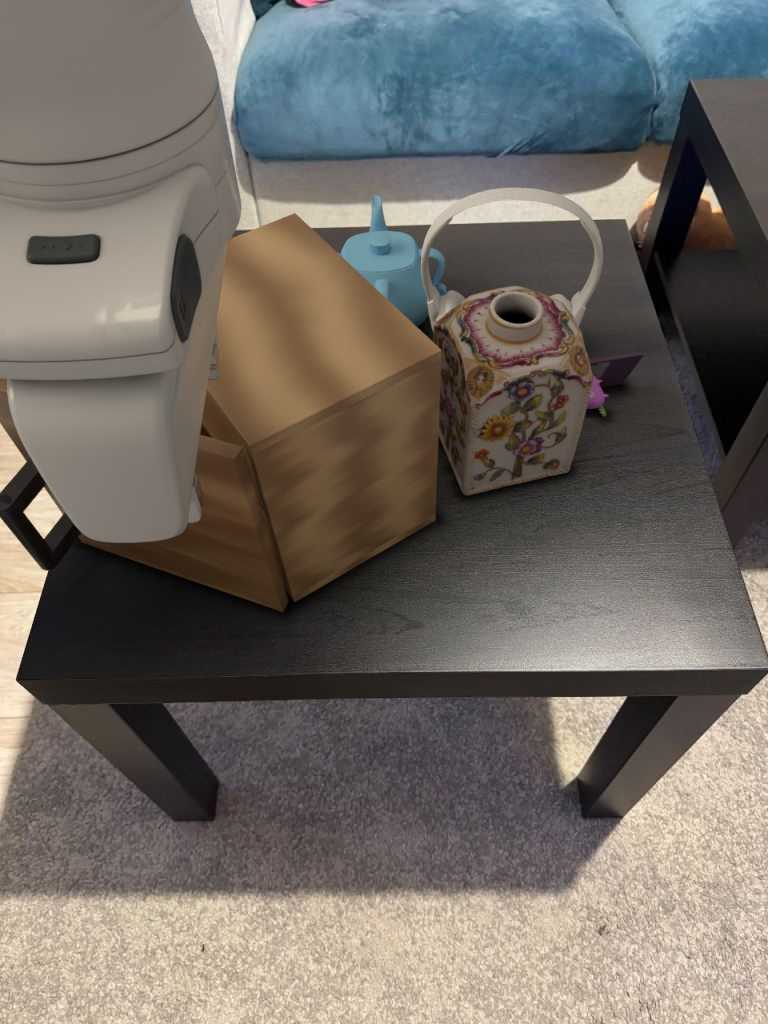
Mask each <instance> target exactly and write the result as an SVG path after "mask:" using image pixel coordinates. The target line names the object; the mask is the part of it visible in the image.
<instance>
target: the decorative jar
mask: <svg viewBox="0 0 768 1024" xmlns="http://www.w3.org/2000/svg"><path fill="white" fill-rule="evenodd" d="M432 342H433V343H434V344H435V345H437V346H438V347H439V348H440V349H441V350H442V355H441V381H440V409H439V436H438V439H439V441H440V443H441V445H442V448H443V450H444V452H445V455H446V457H447V460H448V462H449V465H450V467H451V469H452V471H453V473H454V477H455V479H456V481H457V484H458V487H459V489H460V491H461V493H462V494H463V495H464V496H473V495H476V494H480V493H481V494H482V493H485V492H489V491H492V490H493V491H494V490H496V489H501V488H504V487H509V486H514V485H519V484H523V483H528V482H531V481H535V480H540V479H544V478H548V477H554V476H558V475H563V474H567V473H568V472H570V470H571V466H572V463H573V460H574V457H575V453H576V450H577V446H578V442H579V440H580V437H581V432H582V428H583V424H584V420H585V418H586V412H587V405H588V400H589V396H590V393H591V389H592V386H593V381H594V378H593V376H594V375H593V373H592V366H591V364H590V360H591V358H590V355H589V354H588V352H587V350H586V346H585V340H584V337H583V333H582V331H581V329H580V326H579V327H578V324H577V322H576V321H575V319H574V317H573V315H572V314H571V312H570V311H569V310H568V309H567V307H566V306H565V305H564V303H562V302H561V301H558V300H556V299H553V298H551V297H550V296H549V295H547V294H544V293H542V292H540V291H538V290H532V289H530V288H527V287H523V286H520V285H510V286H504V287H498V288H493V289H492V288H491V289H487V290H485V291H481V292H478V293H474V294H471V295H469V296H468V297H466V298H465V300H464V301H463V302H462V303H460V304H459V305H457V306H456V307H455V308H453V309H451V310H450V311H449V312H448V313H446V314H445V315H444V316H443V317H442V318H441V319H440V320H438V321H437V322H436V323H435V325H434V333H433V340H432Z"/></svg>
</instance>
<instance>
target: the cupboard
mask: <svg viewBox="0 0 768 1024" xmlns="http://www.w3.org/2000/svg"><path fill="white" fill-rule="evenodd" d="M338 253H339V252H338V251H337V250H336V249H334V247H332V246H331V245H330V244H329V243H328V242H327V241H326V240H325V239H323V238H322V237H321V236H320V234H319V233H317V232H316V231H315V230H314V229H313V228H312V227H311V226H310V225H309V224H307V222H305V221H304V220H303V219H302V218H301V217H300V216H299V215H298V214H297V213H296V212H294V213H291V214H288V215H287V216H284V217H282V218H279V219H277V220H274V221H272V222H268V223H266V224H264V225H262V226H259V227H257V228H254V229H251V230H249V231H246V232H244V233H241V234H239V235H237V236H234V237H231V239H230V240H229V241H228V246H227V253H226V260H225V266H224V273H223V280H222V287H221V294H220V301H219V308H218V315H217V334H218V335H217V337H218V341H219V345H220V349H221V354H222V361H221V368H220V374H219V377H218V378H217V379H215V380H208V383H207V390H206V397H205V404H204V411H203V418H202V425H201V432H200V435H203V436H207V437H210V438H214V439H217V440H221V441H224V442H227V443H231V444H234V445H238V446H241V447H243V450H244V453H245V457H246V460H247V463H248V467H249V470H250V473H251V477H252V480H253V483H254V487H255V490H256V493H257V497H258V500H259V504H260V507H261V510H262V514H263V517H264V520H265V524H266V527H267V530H268V534H269V537H270V540H271V544H272V547H273V551H274V554H275V557H276V561H277V564H278V567H279V571H280V574H281V577H282V581H283V584H284V587H285V591H286V593H287V594H288V595H289V597H290V598H291V600H292V602H293V603H296V602H297V601H299V600H301V599H303V598H305V597H306V596H308V595H309V594H310V595H311V593H313V592H315V591H316V590H318V589H320V588H322V587H324V586H325V585H327V584H329V583H331V582H332V581H334V580H335V579H338V578H340V577H341V576H342V575H344V574H346V573H347V572H349V571H351V570H353V569H354V568H357V566H359V565H362V564H363V563H365V562H367V561H368V560H371V558H374V557H375V556H377V555H378V554H380V553H382V552H384V551H385V550H387V549H388V548H391V547H392V546H394V545H396V544H398V543H399V542H401V541H403V540H404V539H406V538H409V536H411V535H413V534H415V533H417V532H418V531H420V530H422V529H424V528H425V527H427V526H429V525H430V524H432V523H433V522H435V521H436V519H437V493H438V492H437V490H438V486H437V485H438V465H439V464H438V463H439V462H438V461H439V460H438V459H439V409H440V381H441V355H442V350H441V349H440V348H439V347H438V346H437V345H435V344H434V343H433V340H431V339H430V337H428V336H427V335H426V334H425V333H424V332H423V331H422V330H421V329H420V328H419V327H416V326H415V325H414V324H413V323H412V322H411V321H410V320H409V319H408V318H407V317H406V316H405V315H403V314H402V313H401V312H400V311H399V310H398V309H397V308H396V307H395V306H394V305H393V304H392V303H391V302H390V301H389V300H387V299H386V298H385V297H384V296H383V295H382V294H381V293H380V292H379V291H378V290H377V289H376V288H375V287H374V286H373V285H371V284H370V283H369V282H368V281H367V280H366V279H365V278H364V277H363V276H362V275H361V274H360V273H359V272H358V271H357V270H355V269H354V268H353V267H352V266H351V265H350V264H349V263H348V262H347V261H346V260H345V259H344V258H343V257H342V256H340V255H339V254H338Z"/></svg>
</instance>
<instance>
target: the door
mask: <svg viewBox="0 0 768 1024" xmlns="http://www.w3.org/2000/svg"><path fill="white" fill-rule="evenodd" d="M0 425H1V426H2V428H3V429H4V431H5V432H6V434H7V435H8V437H9V438H10V439H11V441H12V443H13V445H14V446H15V447H16V448H17V450H18V452H19V453H20V455H21V456H22V457H23V459H24V460H25V463H24V464H23V465H22V467H21V468H20V469H19V470H18V471H17V472H16V474H14V476H13V477H12V478H11V479H10V481H8V483H7V484H6V485H5V486H4V488H3V489H2V490H1V491H0V519H1V520H2V521H3V523H4V524H5V525H6V527H7V528H8V529H9V530H10V532H11V533H12V534H13V535H14V537H15V538H16V539H17V540H18V542H19V543H20V544H21V546H23V548H24V549H25V550H26V551H27V553H28V554H29V555H30V556H31V557H32V559H33V561H35V563H36V564H37V565H38V566H39V567H40V569H41V570H43V571H45V572H46V571H48V572H49V571H51V570H54V569H55V568H56V567H57V566H58V565H59V563H60V562H61V561H62V560H63V559H64V557H65V556H66V554H67V553H68V552H69V550H70V549H71V547H72V546H73V545H74V543H75V542H76V541H77V539H79V541H80V542H81V543H82V544H85V545H87V546H91V547H94V548H97V549H100V550H103V551H104V552H108V553H111V554H114V555H117V556H120V557H123V558H126V559H129V560H132V561H134V562H137V563H140V564H143V565H146V566H147V567H148V566H149V567H152V568H154V569H157V570H160V571H164V572H167V573H169V574H172V575H174V576H177V577H180V578H183V579H186V580H189V581H192V582H195V583H198V584H201V585H204V586H207V587H209V588H212V589H216V590H218V591H221V592H224V593H227V594H230V595H233V596H236V597H239V598H241V599H245V600H247V601H250V602H253V603H256V604H258V605H261V606H264V607H267V608H270V609H273V610H276V611H278V612H282V613H284V611H285V610H286V607H287V605H288V604H289V597H288V595H287V594H288V593H287V591H286V589H285V587H284V584H283V581H282V577H281V574H280V571H279V567H278V564H277V561H276V557H275V554H274V551H273V547H272V544H271V540H270V537H269V534H268V530H267V527H266V524H265V520H264V517H263V514H262V510H261V507H260V504H259V500H258V497H257V493H256V490H255V487H254V483H253V480H252V477H251V473H250V470H249V467H248V463H247V460H246V457H245V453H244V450H243V447H241V446H238V445H234V444H231V443H227V442H224V441H221V440H217V439H214V438H210V437H207V436H203V435H200V439H199V445H198V452H197V459H196V466H195V473H194V475H197V476H198V478H199V481H200V484H201V489H202V490H203V493H204V495H203V505H202V512H201V518H200V520H199V521H198V522H195V523H187V527H186V529H185V531H184V532H183V533H181V534H180V535H178V536H176V537H173V538H170V539H165V540H159V541H152V542H138V543H111V542H101V541H96V540H93V539H91V538H88V537H87V536H85V535H84V534H83V533H81V531H80V530H79V529H78V528H77V527H76V526H75V525H74V523H73V522H72V521H71V519H70V518H69V517H68V515H67V514H66V513H65V511H64V510H63V508H62V507H61V505H60V504H59V502H58V501H57V499H56V498H55V496H54V495H53V493H52V492H51V490H50V489H49V487H48V486H47V484H46V482H45V481H44V479H43V478H42V476H41V474H40V473H39V471H38V469H37V468H36V466H35V464H34V463H33V461H32V459H31V457H30V456H29V454H28V452H27V451H26V449H25V447H24V445H23V443H22V441H21V439H20V437H19V435H18V432H17V430H16V427H15V425H14V422H13V419H12V415H11V412H10V408H9V403H8V395H7V379H0ZM43 489H45V491H46V492H47V494H48V495H49V497H50V498H51V500H52V501H53V502H54V504H55V506H56V507H57V509H58V510H59V511H60V513H61V514H62V515H61V516H60V517H59V519H58V520H57V521H56V523H55V524H54V525H53V527H52V528H51V529H50V531H49V532H48V533H47V534H46V536H44V537H43V536H42V534H41V533H40V532H39V530H38V529H37V528H36V526H35V525H34V524H33V522H32V521H31V520H30V518H29V517H28V516H27V515H26V513H25V511H26V510H27V508H28V507H29V506H30V505H31V503H32V502H33V501H34V500H35V498H36V497H37V496H38V495H39V494H40V492H41V491H42V490H43Z"/></svg>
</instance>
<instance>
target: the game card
mask: <svg viewBox="0 0 768 1024" xmlns="http://www.w3.org/2000/svg"><path fill="white" fill-rule="evenodd" d="M644 356H645V355H644V351H638V352H632V353H631V352H630V353H624V354H618V355H613V356H606V357H599V358H593V359H590V364H591V367H594V366H597V365H598V364H605V363H608V364H607V365H606V367H605V368H604V370H603V371H602V373H601V374H600V376H599V377H598V379H597V377H596V376H595V375H593V378H594V381H593V386H592V389H591V393H590V396H589V400H588V405H587V408H586V410H587V409H588V410H595V409H598V411H600V412H599V414H601V417H606V416H607V413H606V412H607V411H606V409H605V407H604V406H603V405H604V404H605V401H606V398H608V397H609V394H608V393H604V391H603V389H602V388H607V387H612V386H613V387H614V386H618V385H622V384H624V383H625V381H626V380H627V379H628V377H630V374H631V373H632V372H633V371H634V369H635V368H636V367H637V365H638V364H639V363H640V361H641V360H642V359H643V357H644Z"/></svg>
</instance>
